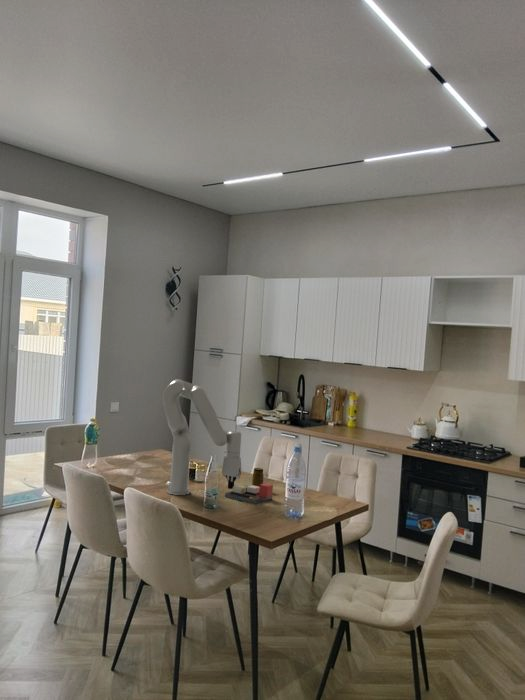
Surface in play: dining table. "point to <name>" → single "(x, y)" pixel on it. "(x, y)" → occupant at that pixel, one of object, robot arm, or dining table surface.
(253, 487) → the breaker
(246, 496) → the panel
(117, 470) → the dining table surface
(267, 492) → the cap
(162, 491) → the dining table surface
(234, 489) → the breaker
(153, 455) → the dining table surface
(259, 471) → the condiment
